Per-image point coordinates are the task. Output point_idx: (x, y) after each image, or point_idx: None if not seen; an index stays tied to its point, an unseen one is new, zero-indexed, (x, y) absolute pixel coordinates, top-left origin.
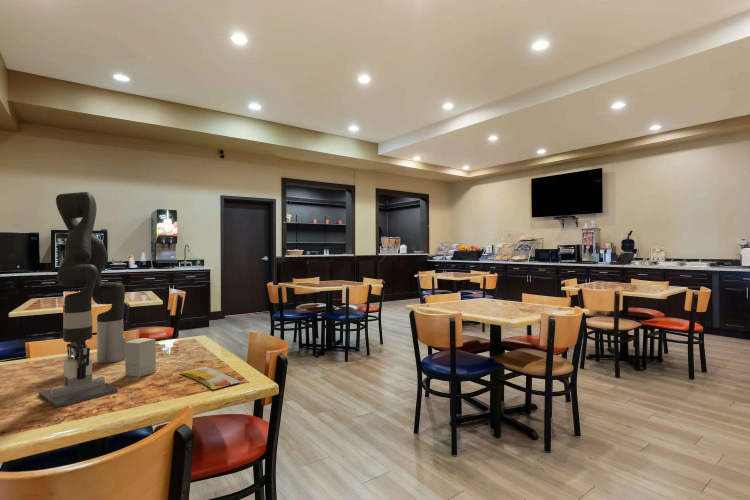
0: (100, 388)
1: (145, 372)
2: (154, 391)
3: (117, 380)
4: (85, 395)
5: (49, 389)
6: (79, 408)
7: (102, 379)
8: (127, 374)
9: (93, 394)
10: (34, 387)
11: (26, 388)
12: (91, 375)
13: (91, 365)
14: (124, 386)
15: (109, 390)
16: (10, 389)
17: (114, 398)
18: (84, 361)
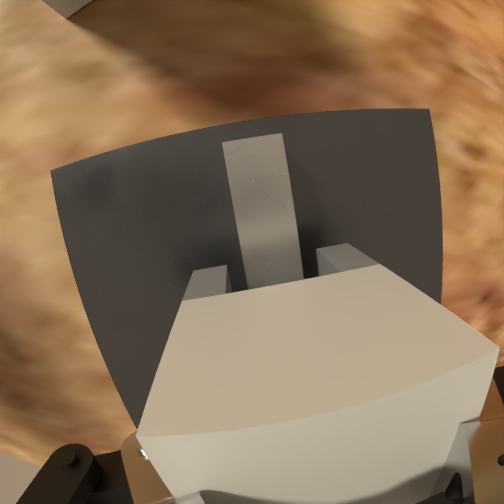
0: (347, 182)
1: None
2: (492, 20)
3: (138, 54)
4: (417, 277)
5: (129, 412)
6: (494, 298)
7: (281, 152)
8: (81, 4)
9: (433, 239)
10: (23, 415)
11: (27, 432)
12: (372, 264)
13: (434, 305)
14: (332, 46)
15: (428, 151)
16: (23, 455)
17: (492, 159)
18: (485, 416)
